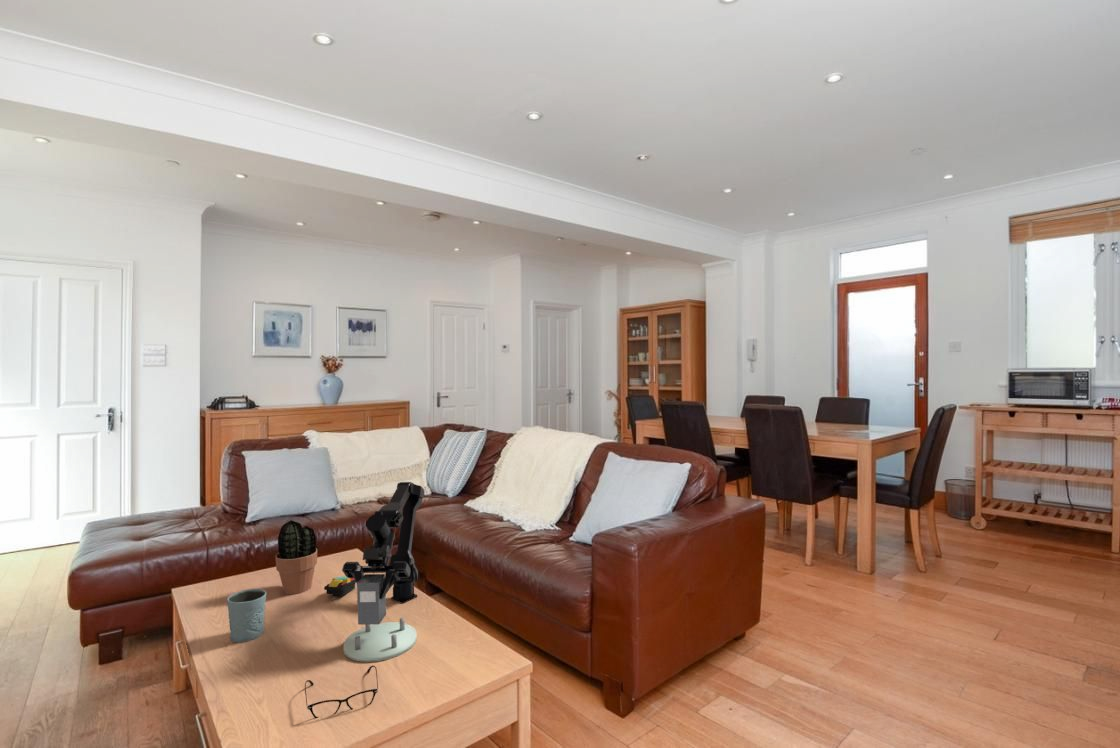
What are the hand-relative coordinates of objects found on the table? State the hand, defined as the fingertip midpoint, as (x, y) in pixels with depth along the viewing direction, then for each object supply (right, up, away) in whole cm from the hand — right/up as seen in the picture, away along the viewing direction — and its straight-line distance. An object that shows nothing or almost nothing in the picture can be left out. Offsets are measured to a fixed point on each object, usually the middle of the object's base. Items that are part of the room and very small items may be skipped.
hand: (370, 598), depth 157 cm
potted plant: (-40, -13, +41) cm, 58 cm away
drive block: (0, -7, +2) cm, 7 cm away
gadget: (-22, -13, +37) cm, 45 cm away
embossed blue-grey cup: (-39, -14, +8) cm, 42 cm away
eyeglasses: (+1, -15, -23) cm, 27 cm away
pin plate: (+2, -13, +2) cm, 14 cm away
